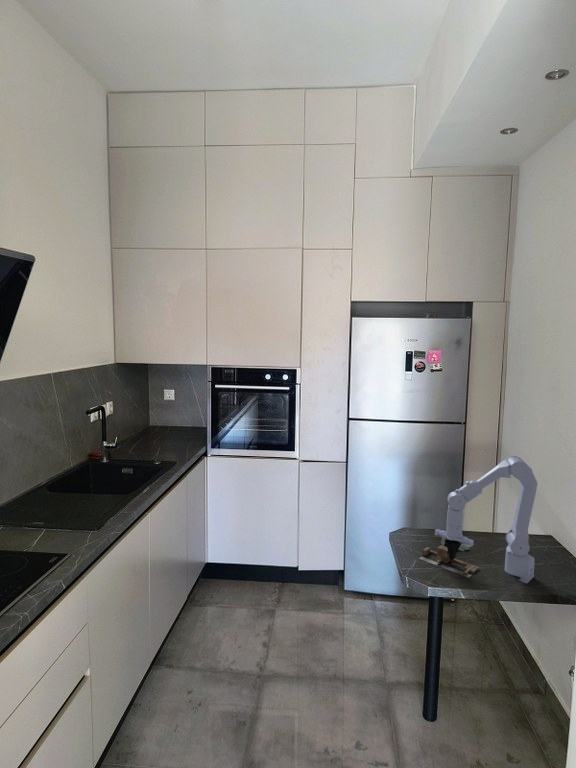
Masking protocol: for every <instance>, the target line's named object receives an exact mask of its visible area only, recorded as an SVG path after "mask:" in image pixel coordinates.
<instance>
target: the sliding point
mask: <svg viewBox="0 0 576 768" xmlns="http://www.w3.org/2000/svg"><path fill="white" fill-rule="evenodd" d="M436 552H437V555H436V562H438V563H445V564H448V563H449V562H450V561H451V560H450V557H449V552H448V549H447V546H446V545H444V546H443V545H442V544H441V545H439V546H437V551H436Z"/></svg>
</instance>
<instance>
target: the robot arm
mask: <svg viewBox="0 0 576 768" xmlns="http://www.w3.org/2000/svg"><path fill="white" fill-rule="evenodd" d="M511 475H512V476H511ZM512 477H513V478H515V479H517V480H518V481H519V483H521V484H520V488H519V489H520V490H519V493H518V499H517V504H516V508H515V509H516V510H515V514H514V519H513V523H512V524H511V526H510V528H509V530H508V532H507V533H506V535H505V540H506V543H507V546H506V547H505V548H506V549H505V560H504V571H505V573H507V574H509V575H511V576H515V577H519V578H518V580H517V581H518V582H521V583H523V584H528V583H529V582H530V581H531V580H533V578H534V577H535V575H534V572H535V570H534V569H535V557H534V556H532V555H530V554H529V552H530V548H531V547H530V543H529V540H530V539H529V538H530V535H529V528H530V527H529V526H530V523H531V517H532V514H533V513H532V512H533V508H534V503H535V499H536V498H535V497H536V492H537V487H538V480H537V479H536V477H535V475H534V472H533V469H532V468H531V467H530V466H529V465H528V464H527V463H526V461H524V460H523V459H522V458H521V457H520V456H519V455H518V456H517V455H510V456H509V457H507V458H506V459H504V460H502V461H501V462H499V463H498V464H497V465H496V466H494V467H493V468H492V469H491V470H489V471H488V472H487V473H486V474H484V475H483V476H481V477H480V478H479V479H477V480H473V479H472V480H470V481H469V480H467V481H465V484H464V485H462V486H460V488H459V489H458V488H456V489H455V490H454V491H452V492H450V493H448V495H447V498H446V501H447V503H448V506H447V511H446V525H445V526H446V529H443V530H442V529H439V528H437V529H435V530H434V536H440V537H441V538H442V537H445V538H446V540H445V541H444V542H445V544H444V545H445V547H447V549H448V552H449V557H450V559H452V560H453V559H456V558H457V557H456V556H457V553H458V551H459V550H458V549H459V547H460V545H461V544H462V543H463V544H466V545H468V546H470V547H469V548H471V547H474V543H475V542H474V539H471V538H468V537H467V536H465V535H463V521H464V509H465V507H466V505H467V504H468V503H469V502H471V501H472V500H474V499H476V498H477V497H479V495H481V494H482V493H483V489H484V488H486V487H487V486H489V485H491V484H493V483H495V482H496V481H497V480H500V478H501V479H502V478H505V479H506V478H507V479H511V478H512Z"/></svg>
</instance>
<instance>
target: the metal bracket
mask: <svg viewBox="0 0 576 768" xmlns="http://www.w3.org/2000/svg"><path fill="white" fill-rule="evenodd" d="M445 540H446V538H445V537H442V536H441V542H440V544H441V545H442V546H445V545H446V544H445V542H444V541H445ZM470 548H471V547H470V546H468V545H466V544H463V543H462V544H461V545H460V547H459V549H458V551H462V552H465V550H466V551H468V550H469V549H470Z"/></svg>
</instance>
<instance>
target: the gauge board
mask: <svg viewBox="0 0 576 768" xmlns="http://www.w3.org/2000/svg"><path fill="white" fill-rule="evenodd" d="M421 553H422V554H421V555H422V556H420V557H419V558H418V560H421V561H423V562H426V563H429V564H431V565H433V566H436V567H440V568H442V569H444V570H448V571H449V572H453V573H455V574H458V575H461V576H463V577H465V578H470V577H471V576H473V574H474V573H476V572H477V571H479V570H480V566H477V565H474V564H471V563H468V562H465V561H462V560H461V559H460V560H459V559H456V558H455V559H453V560H452V559H450V561H451V562H454V563H457V564H459V565H463V566H464V568H463V571H461V570H458V569H456V568H453V567H451V566H448V565H445V564H443V563H441V562H439V563H438V562H437V561H434V560H432V559H429V558H426V556H429V554H432V555H435V556H437V551H434V550H431V547H429V546H428V547H425V548H423V549H422V552H421ZM470 573H471V574H470Z"/></svg>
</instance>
